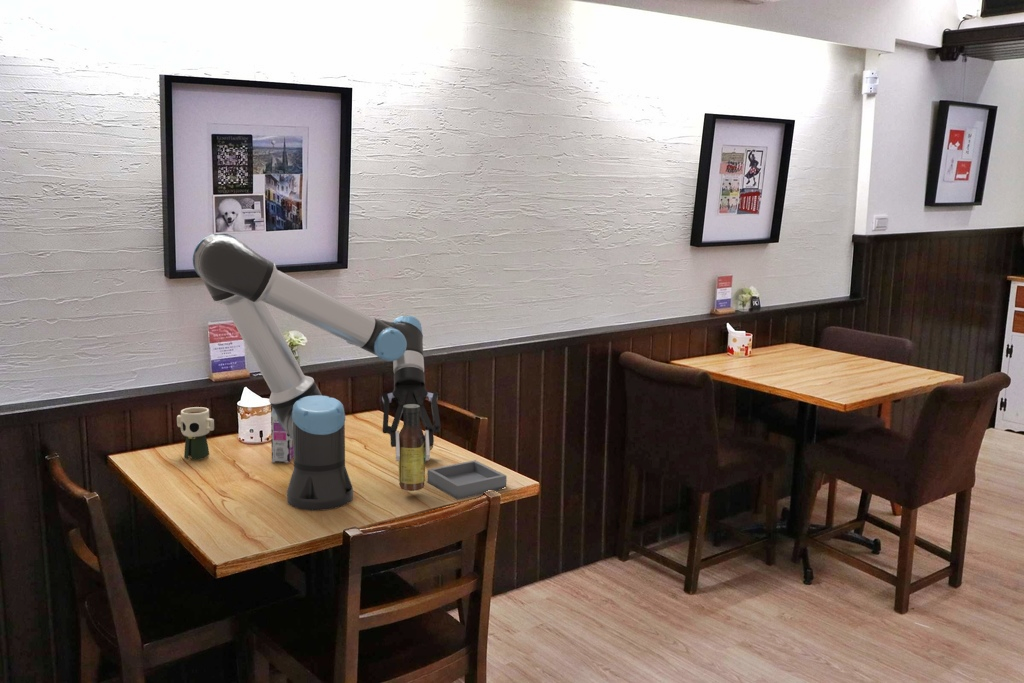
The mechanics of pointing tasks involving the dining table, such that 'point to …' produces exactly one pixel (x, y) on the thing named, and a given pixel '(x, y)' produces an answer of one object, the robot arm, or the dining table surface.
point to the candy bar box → (280, 441)
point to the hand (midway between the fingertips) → (412, 457)
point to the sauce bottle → (411, 450)
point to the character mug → (195, 431)
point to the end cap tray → (466, 479)
